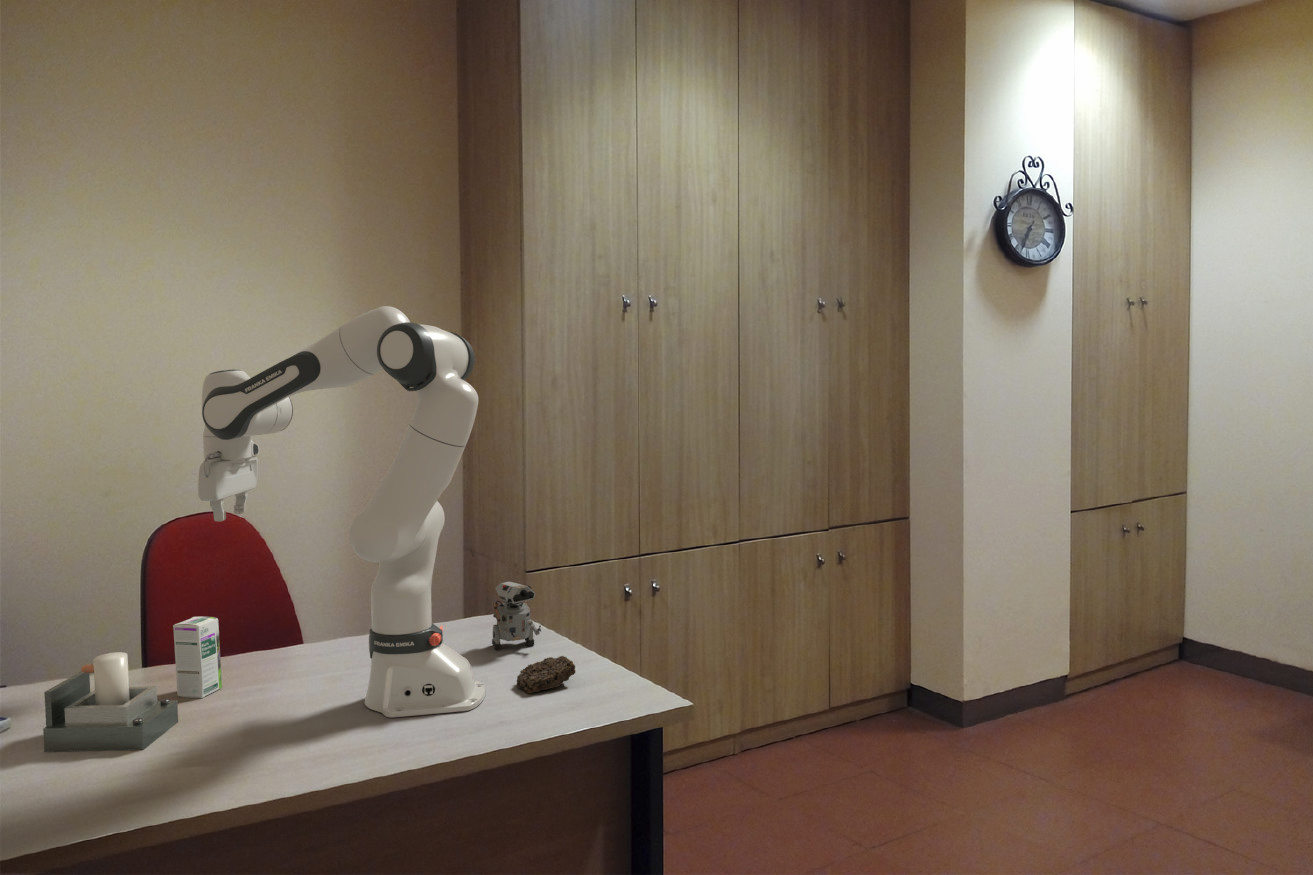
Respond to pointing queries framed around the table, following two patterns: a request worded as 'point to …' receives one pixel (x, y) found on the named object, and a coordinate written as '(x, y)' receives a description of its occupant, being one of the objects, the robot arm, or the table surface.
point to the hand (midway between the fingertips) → (230, 517)
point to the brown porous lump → (545, 674)
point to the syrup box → (197, 657)
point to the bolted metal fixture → (103, 718)
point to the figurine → (513, 614)
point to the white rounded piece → (110, 678)
